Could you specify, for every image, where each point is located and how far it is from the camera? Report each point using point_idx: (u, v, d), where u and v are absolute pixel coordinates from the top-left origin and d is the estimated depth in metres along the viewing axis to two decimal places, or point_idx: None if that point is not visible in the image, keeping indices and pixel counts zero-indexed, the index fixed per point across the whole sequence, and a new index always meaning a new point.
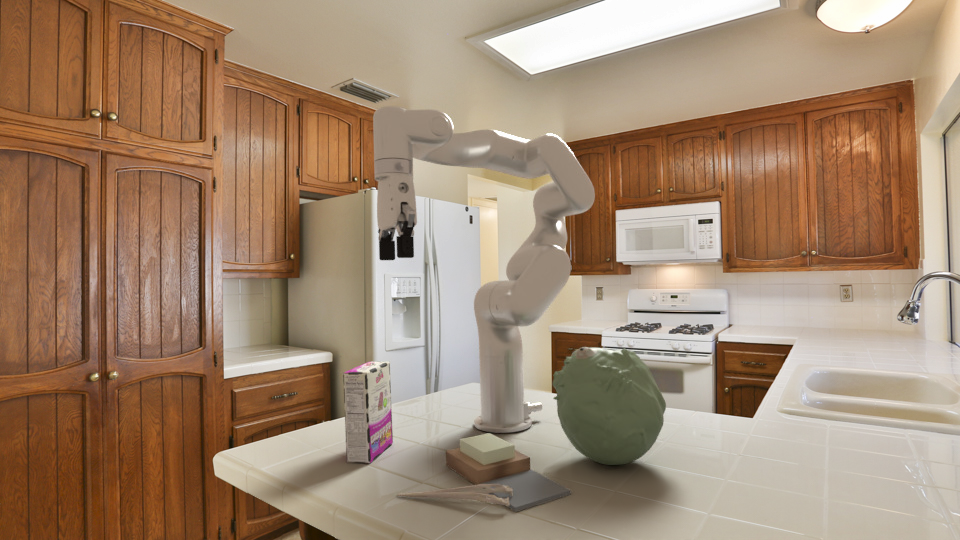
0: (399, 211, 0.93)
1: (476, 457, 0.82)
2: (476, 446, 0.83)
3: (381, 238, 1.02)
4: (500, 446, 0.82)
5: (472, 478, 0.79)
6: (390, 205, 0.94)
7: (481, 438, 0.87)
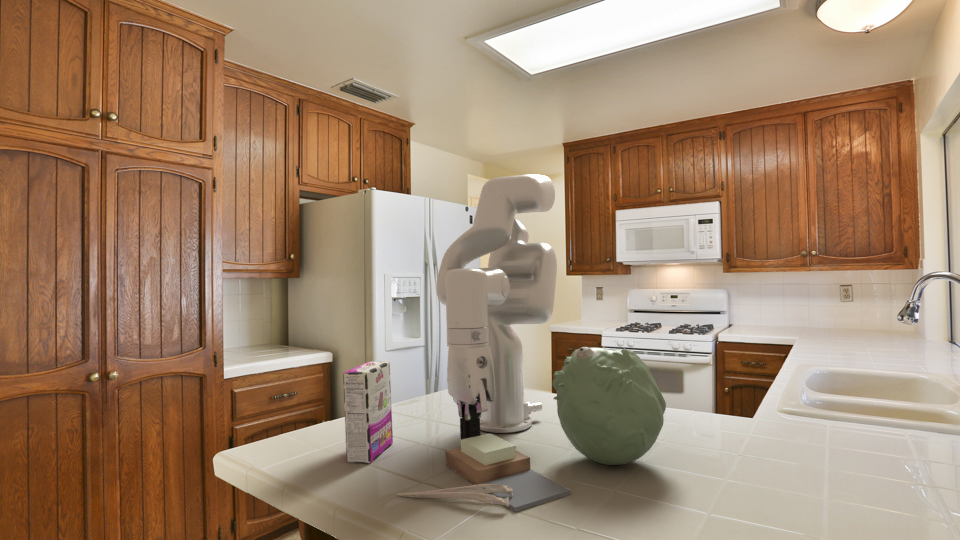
0: (478, 390, 0.84)
1: (477, 457, 0.81)
2: (477, 446, 0.83)
3: (462, 412, 0.89)
4: (501, 447, 0.82)
5: (472, 478, 0.79)
6: (467, 382, 0.85)
7: (482, 438, 0.87)
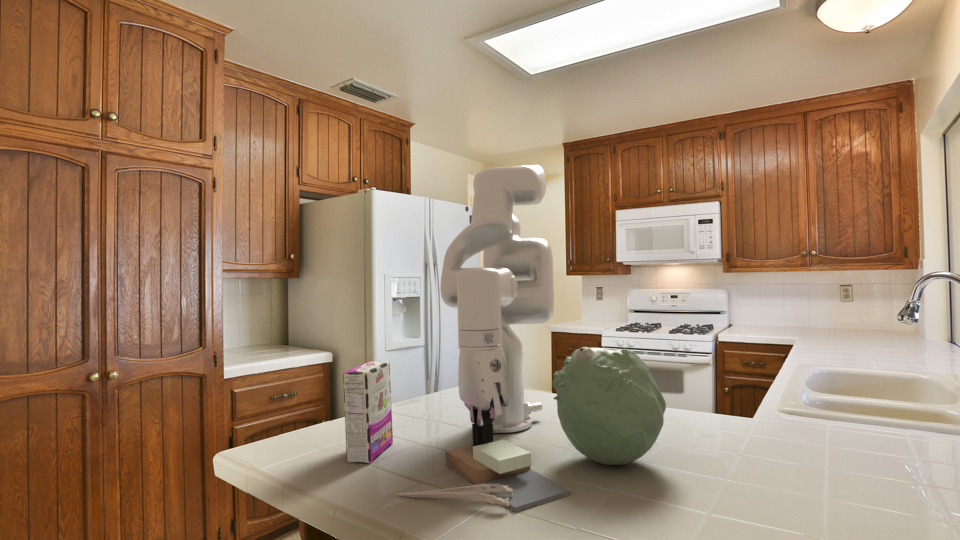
0: (491, 394, 0.81)
1: (491, 465, 0.78)
2: (491, 453, 0.79)
3: (474, 417, 0.86)
4: (516, 454, 0.78)
5: (472, 478, 0.79)
6: (480, 386, 0.81)
7: (496, 445, 0.83)
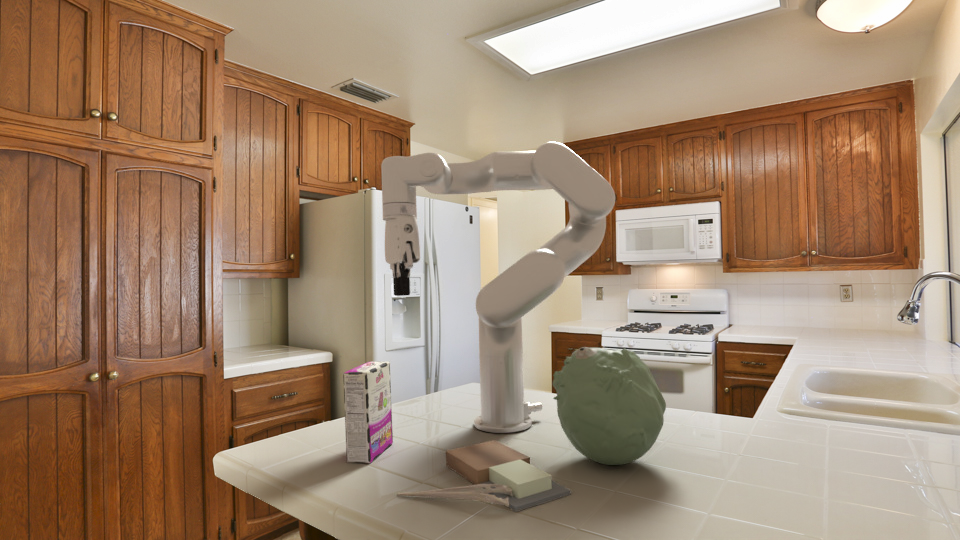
0: (405, 249, 1.07)
1: None
2: (509, 476, 0.75)
3: (395, 273, 1.11)
4: (535, 477, 0.74)
5: (472, 478, 0.79)
6: (397, 244, 1.07)
7: (513, 466, 0.79)
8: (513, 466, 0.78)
